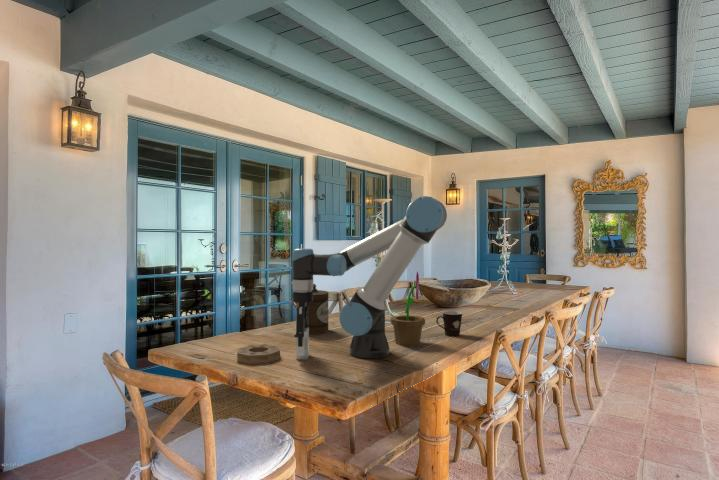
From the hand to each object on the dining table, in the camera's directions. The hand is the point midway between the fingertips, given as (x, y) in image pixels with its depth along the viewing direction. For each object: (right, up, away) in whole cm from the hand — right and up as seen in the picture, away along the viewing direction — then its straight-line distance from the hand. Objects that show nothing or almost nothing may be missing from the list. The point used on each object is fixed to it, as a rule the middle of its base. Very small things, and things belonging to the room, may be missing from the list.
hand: (302, 350), depth 165 cm
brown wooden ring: (-16, -3, 0) cm, 16 cm away
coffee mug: (+61, -2, +38) cm, 72 cm away
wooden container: (-1, -2, +44) cm, 44 cm away
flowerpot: (+41, -3, +23) cm, 47 cm away
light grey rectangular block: (0, -3, 0) cm, 3 cm away
